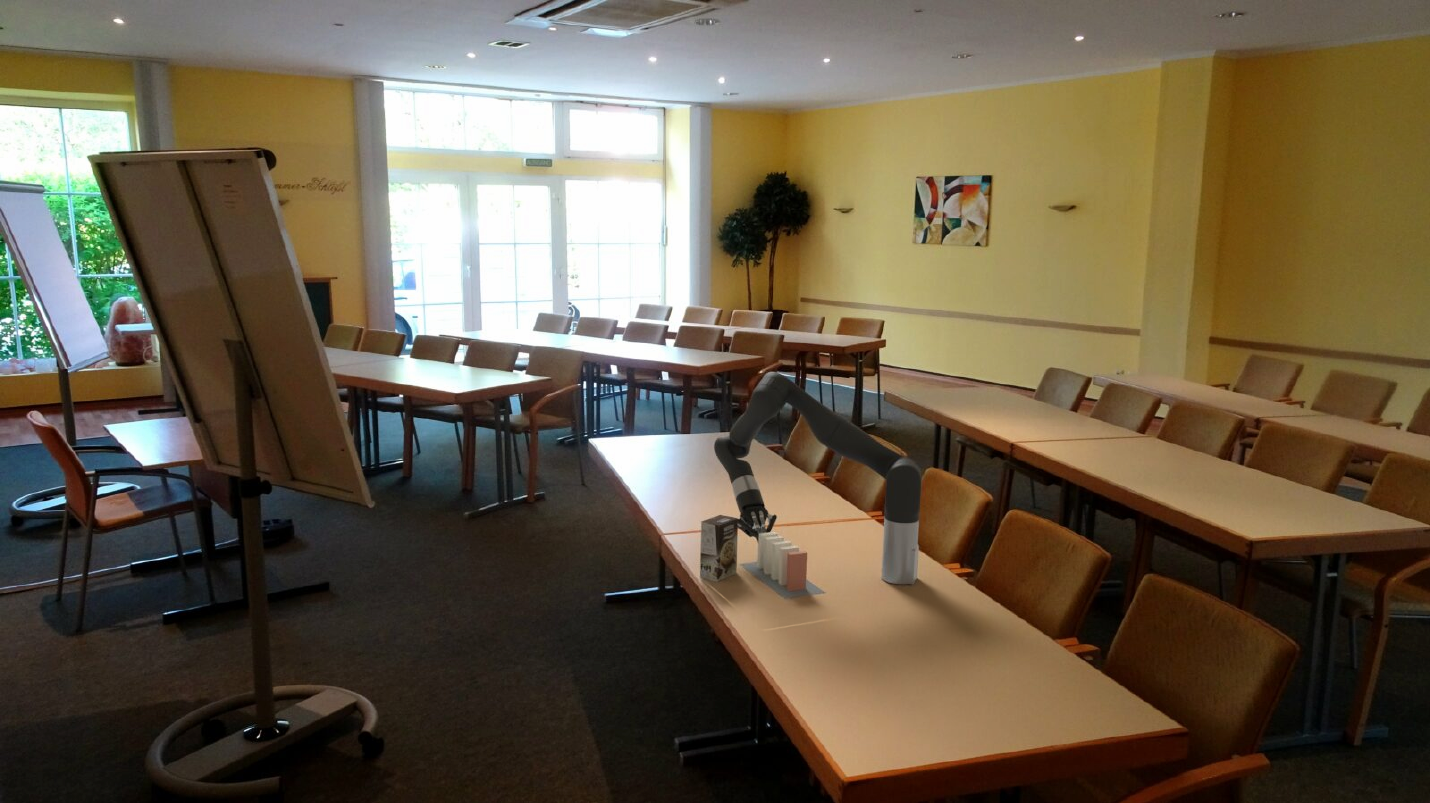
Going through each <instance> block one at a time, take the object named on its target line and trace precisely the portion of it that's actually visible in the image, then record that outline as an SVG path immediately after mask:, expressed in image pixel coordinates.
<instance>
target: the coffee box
mask: <svg viewBox="0 0 1430 803" xmlns="http://www.w3.org/2000/svg"><path fill="white" fill-rule="evenodd" d="M738 519H739V518H738V517H733V516H729V515H722V514H718V515H716V516H713V517H710V518H708V519H704V520H702V521H700V553H699V554H700V555H699V556H700V558H699V578H700V579H707V580H710V581H713V582H720V581H722V580H724V579H727V578H729V577H731V576H733V575H735V574H737V570H738V567H737V566H738V532H739V531H738V529H739V528H738Z"/></svg>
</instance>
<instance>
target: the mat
mask: <svg viewBox="0 0 1430 803" xmlns="http://www.w3.org/2000/svg"><path fill="white" fill-rule="evenodd" d="M739 566H741V567H742V568H743V569H745V570H746V571H747V572H748V573H749V574H751V575H753V576H754V577H755V578H757V579H758V580H759V581H761V582H762V584H764V585H766V586H767V587H769V588H770V589H771V590H772V591H774V592H775V593H776V594H777V595H779V596H780V597H782V598H783V599H785V600H787V599H794V598H800V597H801V598H802V597H807V596H814V595H820V594H826V592H825V591H824V590H822V588H819V587H818V586H816V585H815V584H814V583H813V582H811V581H810V580H808V579H807V578H806V589H801V590H795V591H788V590H787V589H786V587H787V585H780V584H779V579H777V580H773V579H772V578H771V574H765V573H764V569H759V568H757V561H752V562H745V563H739Z"/></svg>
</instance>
